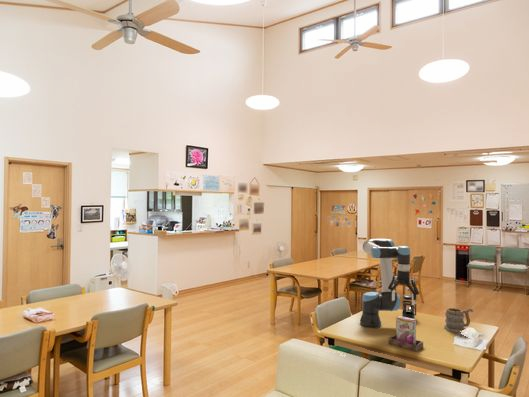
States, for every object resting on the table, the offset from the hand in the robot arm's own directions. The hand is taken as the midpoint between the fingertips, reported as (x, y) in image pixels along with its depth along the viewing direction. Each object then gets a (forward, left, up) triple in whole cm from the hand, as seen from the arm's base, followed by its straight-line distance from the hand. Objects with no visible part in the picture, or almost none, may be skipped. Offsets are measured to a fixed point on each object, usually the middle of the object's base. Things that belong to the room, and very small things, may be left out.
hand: (403, 302), depth 248 cm
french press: (-21, +54, -26) cm, 63 cm away
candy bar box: (+5, -6, -25) cm, 26 cm away
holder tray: (+4, -6, -25) cm, 26 cm away
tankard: (+17, +53, -26) cm, 61 cm away
